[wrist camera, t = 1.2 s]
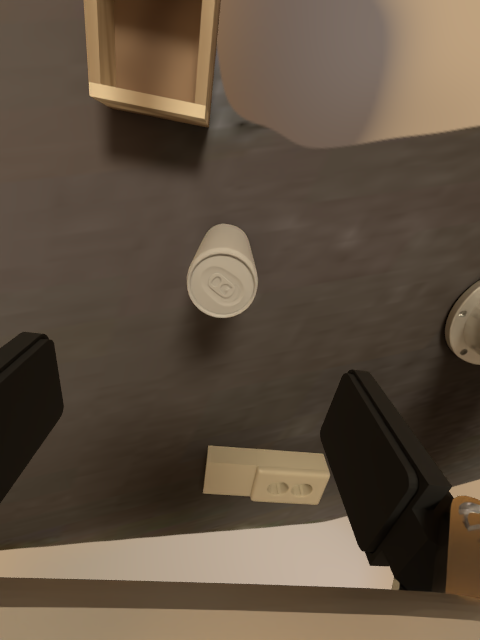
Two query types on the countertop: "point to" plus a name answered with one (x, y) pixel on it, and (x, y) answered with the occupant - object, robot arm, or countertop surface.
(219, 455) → the electrical outlet
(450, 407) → the countertop surface
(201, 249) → the beverage can
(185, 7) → the can holder block
